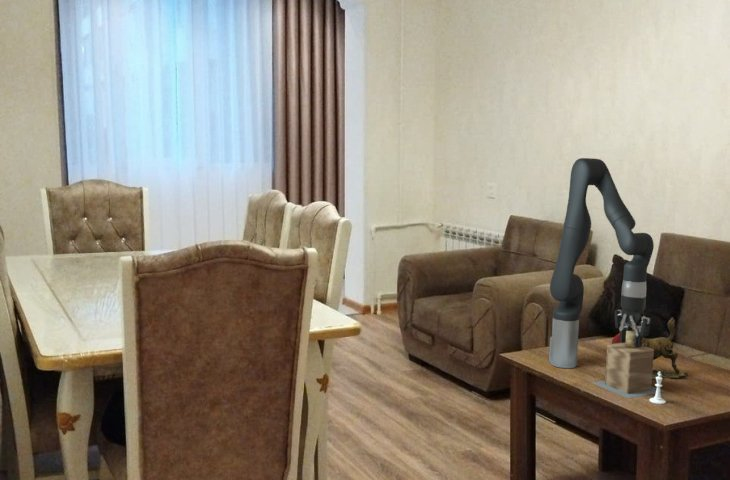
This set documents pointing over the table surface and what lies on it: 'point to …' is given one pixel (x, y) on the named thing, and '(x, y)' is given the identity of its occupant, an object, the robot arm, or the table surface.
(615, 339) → the onion
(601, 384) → the mat
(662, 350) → the figurine
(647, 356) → the cover
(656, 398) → the chess piece
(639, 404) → the table surface
